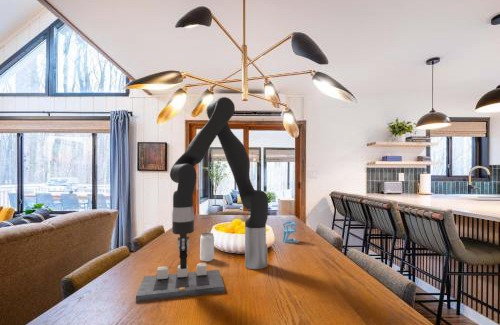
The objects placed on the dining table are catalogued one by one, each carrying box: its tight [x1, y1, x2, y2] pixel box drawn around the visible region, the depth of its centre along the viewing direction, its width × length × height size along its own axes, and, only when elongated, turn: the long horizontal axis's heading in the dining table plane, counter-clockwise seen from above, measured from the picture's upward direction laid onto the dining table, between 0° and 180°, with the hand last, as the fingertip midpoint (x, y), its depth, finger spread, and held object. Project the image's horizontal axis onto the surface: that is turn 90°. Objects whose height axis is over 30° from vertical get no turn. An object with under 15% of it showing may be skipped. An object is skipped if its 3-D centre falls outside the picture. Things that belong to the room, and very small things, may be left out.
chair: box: [282, 221, 300, 244], centre depth 154 cm, size 8×8×12 cm
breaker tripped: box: [176, 264, 189, 277], centre depth 95 cm, size 4×2×4 cm, turn 104°
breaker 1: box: [156, 265, 169, 279], centre depth 94 cm, size 4×2×4 cm, turn 104°
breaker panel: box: [135, 269, 225, 303], centre depth 91 cm, size 28×16×2 cm, turn 104°
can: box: [199, 232, 215, 263], centre depth 121 cm, size 6×6×12 cm
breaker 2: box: [196, 262, 208, 276], centre depth 97 cm, size 4×2×4 cm, turn 104°
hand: (183, 267), depth 91 cm, fingers closed
